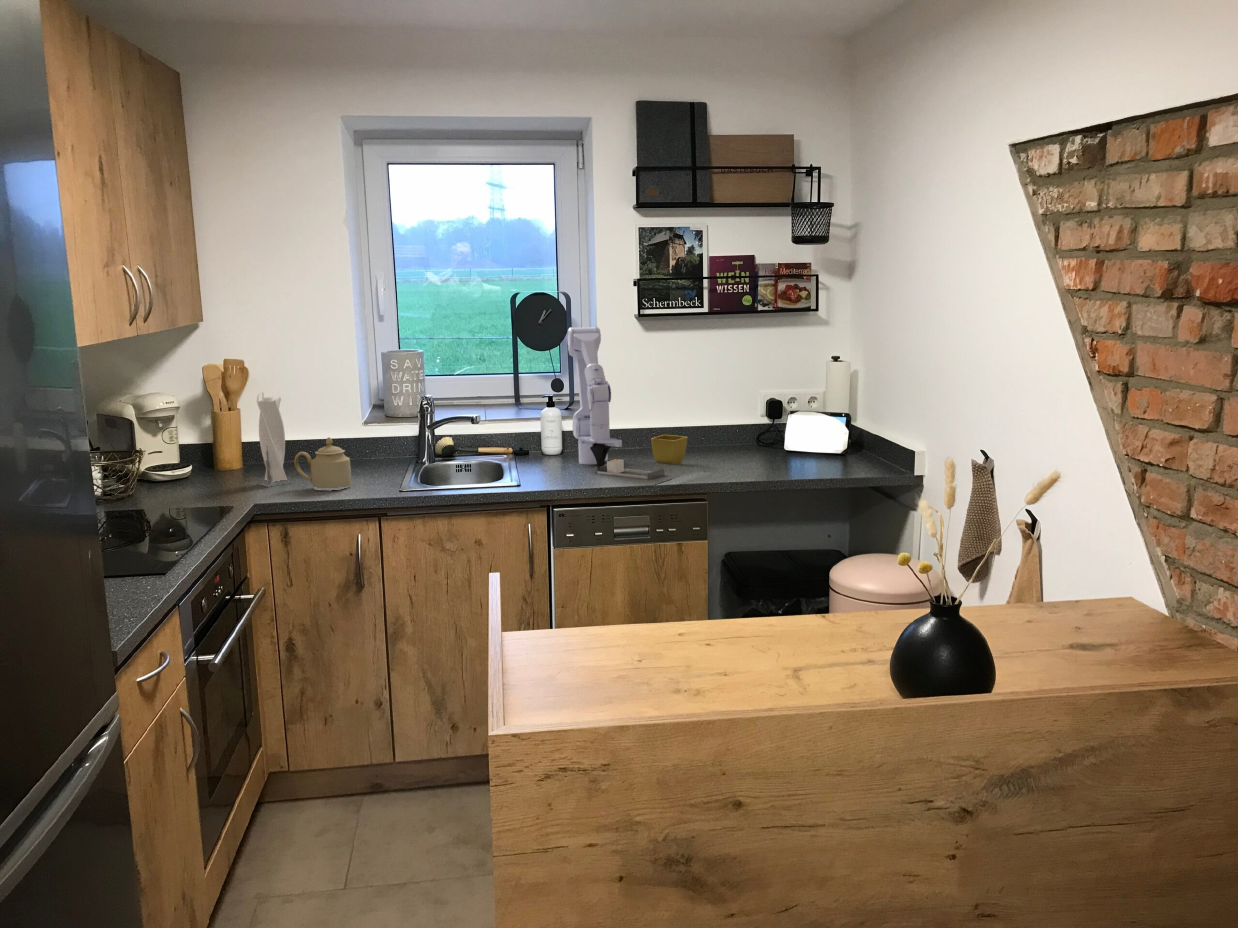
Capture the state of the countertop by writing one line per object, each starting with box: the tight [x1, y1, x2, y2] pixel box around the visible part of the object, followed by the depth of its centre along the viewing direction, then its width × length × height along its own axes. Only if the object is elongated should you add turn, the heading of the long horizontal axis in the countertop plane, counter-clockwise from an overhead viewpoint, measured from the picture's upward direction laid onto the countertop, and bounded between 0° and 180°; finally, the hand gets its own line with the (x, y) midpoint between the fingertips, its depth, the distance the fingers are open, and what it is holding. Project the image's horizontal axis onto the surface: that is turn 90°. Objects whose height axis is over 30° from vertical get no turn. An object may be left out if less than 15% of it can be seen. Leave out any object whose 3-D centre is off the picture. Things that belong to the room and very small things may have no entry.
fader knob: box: [606, 458, 625, 474], centre depth 289 cm, size 4×3×4 cm
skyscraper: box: [256, 391, 288, 484], centre depth 290 cm, size 8×8×28 cm
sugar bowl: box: [294, 436, 352, 488], centre depth 282 cm, size 15×11×15 cm
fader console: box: [594, 463, 672, 486], centre depth 287 cm, size 9×24×3 cm, turn 55°
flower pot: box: [650, 434, 689, 466], centre depth 306 cm, size 9×9×9 cm
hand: (600, 468), depth 293 cm, fingers closed, pressing on fader console
